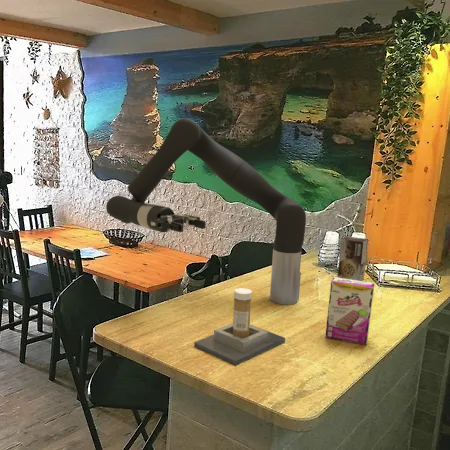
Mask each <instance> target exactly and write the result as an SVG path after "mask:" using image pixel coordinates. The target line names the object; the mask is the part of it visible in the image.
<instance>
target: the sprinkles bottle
mask: <svg viewBox="0 0 450 450" xmlns="http://www.w3.org/2000/svg"><path fill="white" fill-rule="evenodd" d="M252 297H253V291H252V290H251V289H249V288H243V287H240V288H235V289H234V292H233V298H234V302H233V303H234V305H233V315H232V316H233V319H232V323H233V335H235V336H237V337H240V338H242V339H244V338H246V337H249V328H250V325H251V304H252V303H251V302H252Z"/></svg>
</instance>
